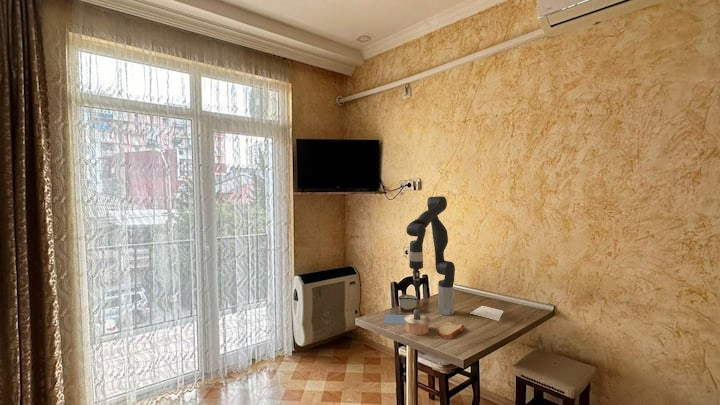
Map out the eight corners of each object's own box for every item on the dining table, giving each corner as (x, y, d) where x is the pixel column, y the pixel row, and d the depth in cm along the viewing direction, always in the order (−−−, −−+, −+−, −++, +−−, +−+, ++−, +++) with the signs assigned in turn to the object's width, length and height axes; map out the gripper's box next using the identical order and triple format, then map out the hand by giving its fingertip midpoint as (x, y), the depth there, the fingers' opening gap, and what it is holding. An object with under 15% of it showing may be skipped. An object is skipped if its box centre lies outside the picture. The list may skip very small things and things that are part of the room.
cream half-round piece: (416, 309, 214) (417, 294, 214) (417, 313, 208) (417, 297, 208) (398, 309, 215) (398, 294, 215) (398, 312, 209) (398, 296, 209)
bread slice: (442, 340, 169) (442, 333, 169) (430, 326, 186) (430, 320, 186) (475, 338, 171) (475, 331, 171) (459, 325, 189) (459, 318, 189)
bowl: (427, 327, 185) (427, 316, 185) (429, 336, 173) (429, 324, 173) (405, 326, 186) (405, 315, 186) (406, 334, 174) (406, 323, 174)
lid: (428, 316, 186) (428, 307, 186) (431, 325, 172) (431, 315, 172) (403, 315, 187) (403, 306, 187) (404, 324, 173) (404, 314, 173)
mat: (409, 316, 202) (409, 315, 202) (410, 325, 187) (410, 324, 187) (384, 315, 204) (384, 314, 204) (383, 324, 189) (383, 323, 189)
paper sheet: (483, 305, 224) (483, 304, 224) (528, 318, 203) (528, 316, 203) (467, 313, 208) (467, 312, 208) (514, 328, 187) (514, 326, 187)
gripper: (424, 262, 174) (424, 292, 175) (421, 257, 188) (421, 285, 189) (410, 261, 175) (410, 292, 175) (408, 257, 189) (408, 284, 189)
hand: (416, 288), depth 182 cm, fingers open, 8 cm apart
